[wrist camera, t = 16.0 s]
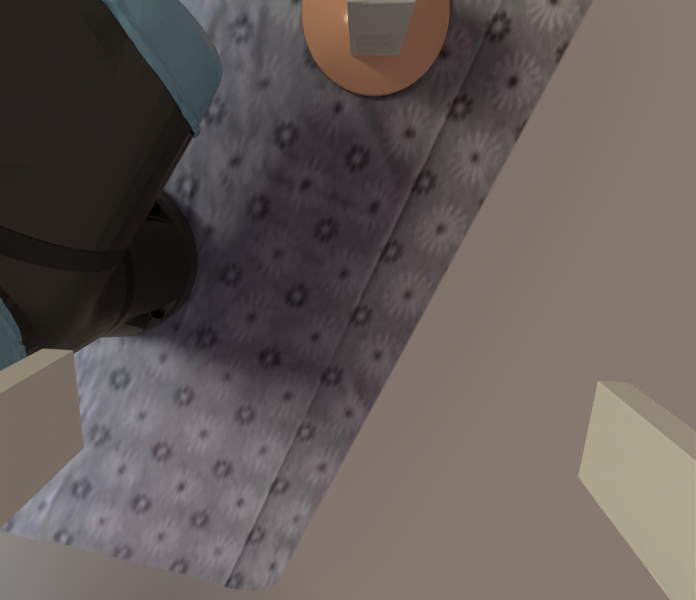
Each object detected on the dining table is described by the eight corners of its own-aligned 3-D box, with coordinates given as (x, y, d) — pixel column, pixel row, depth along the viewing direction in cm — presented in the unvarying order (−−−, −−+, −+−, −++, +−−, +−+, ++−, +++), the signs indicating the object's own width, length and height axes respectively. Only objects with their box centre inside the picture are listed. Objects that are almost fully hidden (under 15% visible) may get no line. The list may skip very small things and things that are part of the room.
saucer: (301, 92, 39) (299, 90, 38) (305, -71, 36) (304, -76, 35) (440, 100, 39) (441, 98, 38) (455, -63, 36) (458, -68, 35)
